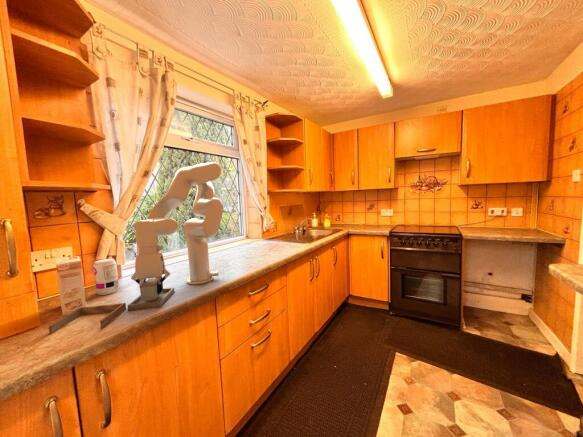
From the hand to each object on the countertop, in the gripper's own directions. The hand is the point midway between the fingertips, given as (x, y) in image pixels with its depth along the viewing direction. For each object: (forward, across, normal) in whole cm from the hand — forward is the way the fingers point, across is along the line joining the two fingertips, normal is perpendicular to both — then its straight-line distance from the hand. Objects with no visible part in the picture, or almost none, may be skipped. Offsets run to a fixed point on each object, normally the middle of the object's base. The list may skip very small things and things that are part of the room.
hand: (152, 293), depth 98 cm
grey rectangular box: (+1, 0, 0) cm, 1 cm away
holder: (+3, +15, +13) cm, 20 cm away
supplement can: (+3, +26, -16) cm, 31 cm away
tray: (+3, 0, 0) cm, 3 cm away
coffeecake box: (+3, +30, -1) cm, 30 cm away
